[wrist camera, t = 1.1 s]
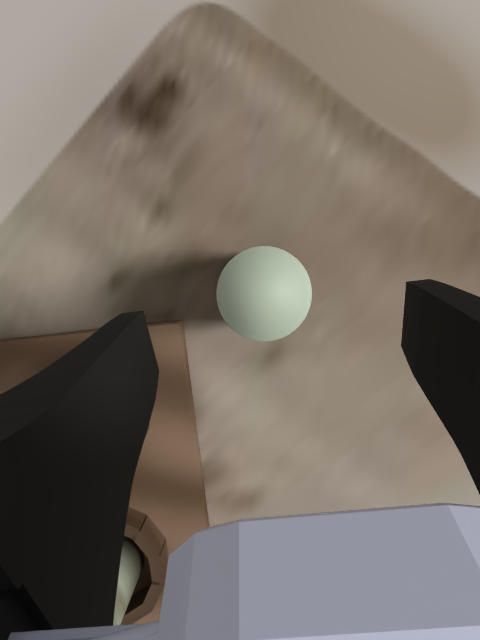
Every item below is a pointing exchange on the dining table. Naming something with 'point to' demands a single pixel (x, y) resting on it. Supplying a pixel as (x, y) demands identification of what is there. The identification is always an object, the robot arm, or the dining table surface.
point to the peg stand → (141, 464)
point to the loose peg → (264, 293)
